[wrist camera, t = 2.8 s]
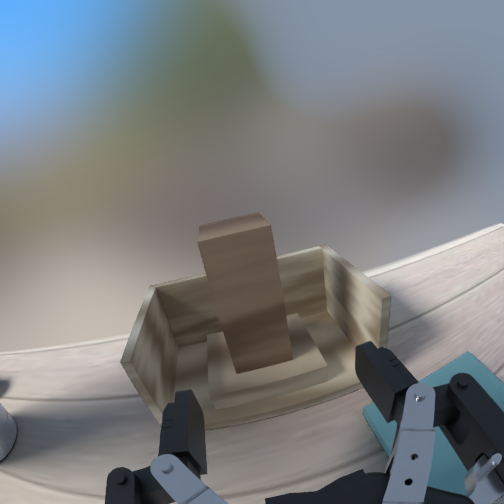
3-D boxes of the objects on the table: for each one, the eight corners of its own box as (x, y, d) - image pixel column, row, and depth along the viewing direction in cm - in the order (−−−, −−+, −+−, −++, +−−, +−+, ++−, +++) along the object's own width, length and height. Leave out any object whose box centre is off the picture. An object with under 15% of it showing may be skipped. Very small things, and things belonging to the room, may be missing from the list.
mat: (536, 430, 8) (542, 423, 8) (427, 525, 7) (432, 522, 7) (465, 358, 19) (467, 351, 19) (362, 413, 18) (363, 407, 18)
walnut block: (293, 359, 23) (270, 225, 19) (236, 373, 22) (197, 241, 18) (279, 329, 27) (258, 212, 23) (231, 340, 27) (199, 225, 23)
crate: (382, 379, 21) (390, 295, 18) (167, 434, 20) (120, 362, 17) (331, 312, 33) (325, 244, 30) (175, 350, 32) (149, 285, 29)
